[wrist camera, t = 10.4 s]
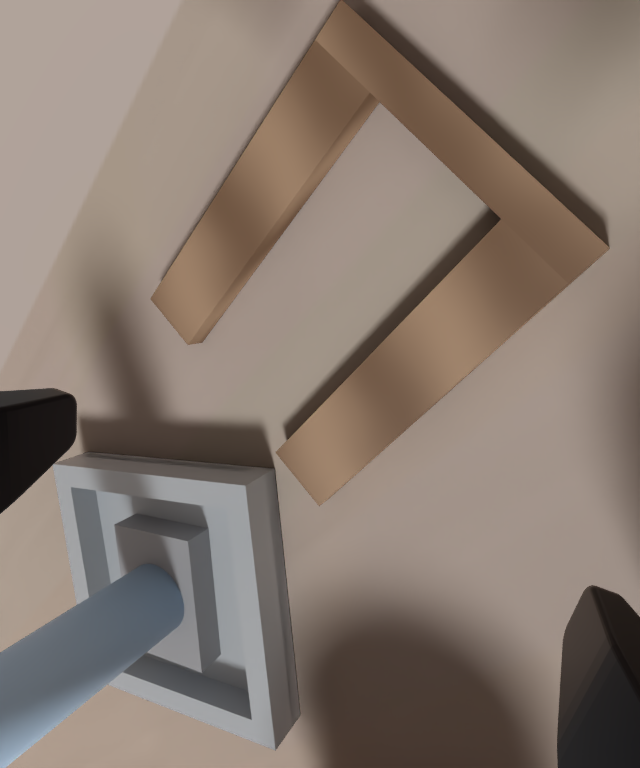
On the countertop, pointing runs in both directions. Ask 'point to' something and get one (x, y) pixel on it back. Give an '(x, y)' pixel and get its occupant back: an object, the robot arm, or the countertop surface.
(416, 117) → the slot
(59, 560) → the countertop surface
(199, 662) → the tall blue pillar
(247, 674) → the tray
